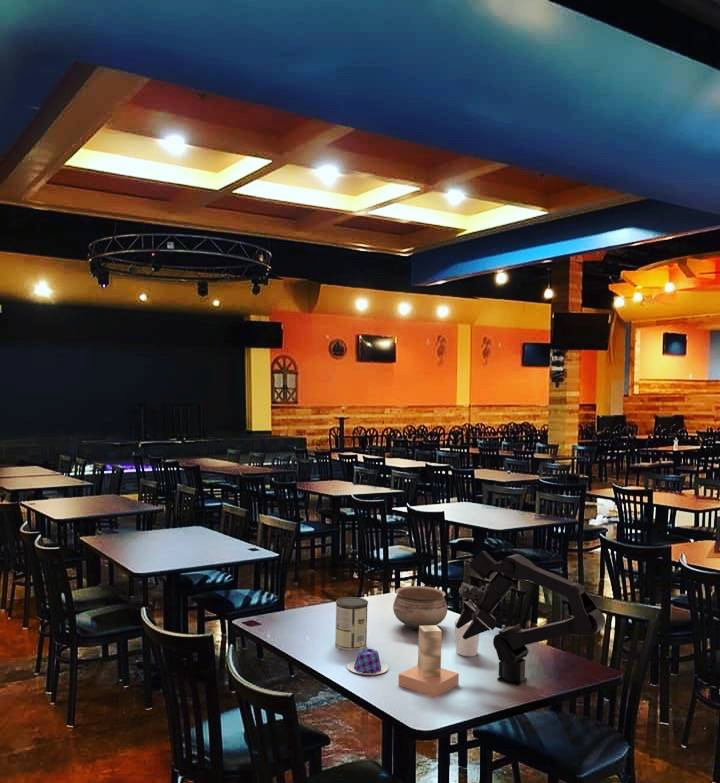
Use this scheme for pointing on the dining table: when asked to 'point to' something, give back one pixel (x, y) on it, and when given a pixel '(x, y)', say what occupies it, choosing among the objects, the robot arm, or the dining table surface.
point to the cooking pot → (420, 606)
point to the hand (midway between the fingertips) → (460, 632)
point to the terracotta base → (428, 681)
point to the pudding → (367, 663)
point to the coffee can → (351, 623)
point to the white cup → (465, 641)
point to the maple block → (429, 651)
